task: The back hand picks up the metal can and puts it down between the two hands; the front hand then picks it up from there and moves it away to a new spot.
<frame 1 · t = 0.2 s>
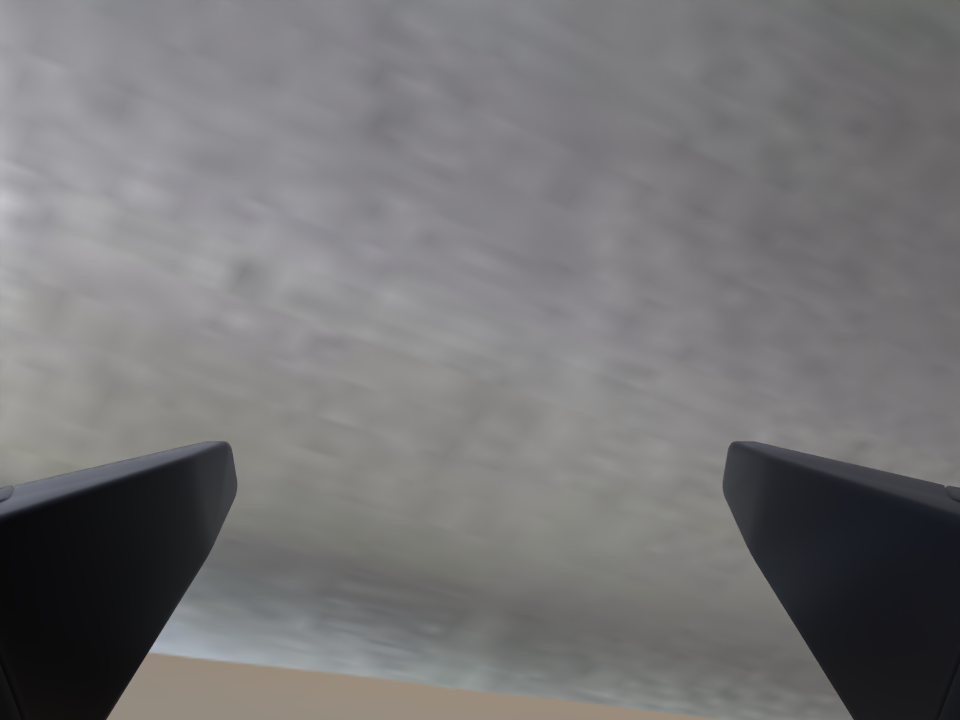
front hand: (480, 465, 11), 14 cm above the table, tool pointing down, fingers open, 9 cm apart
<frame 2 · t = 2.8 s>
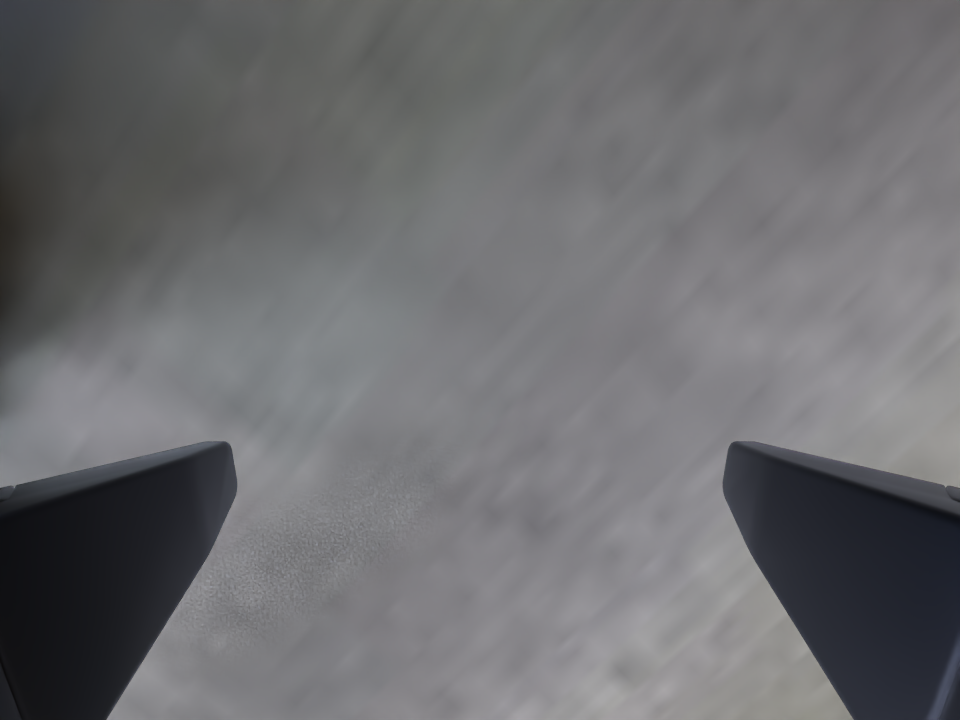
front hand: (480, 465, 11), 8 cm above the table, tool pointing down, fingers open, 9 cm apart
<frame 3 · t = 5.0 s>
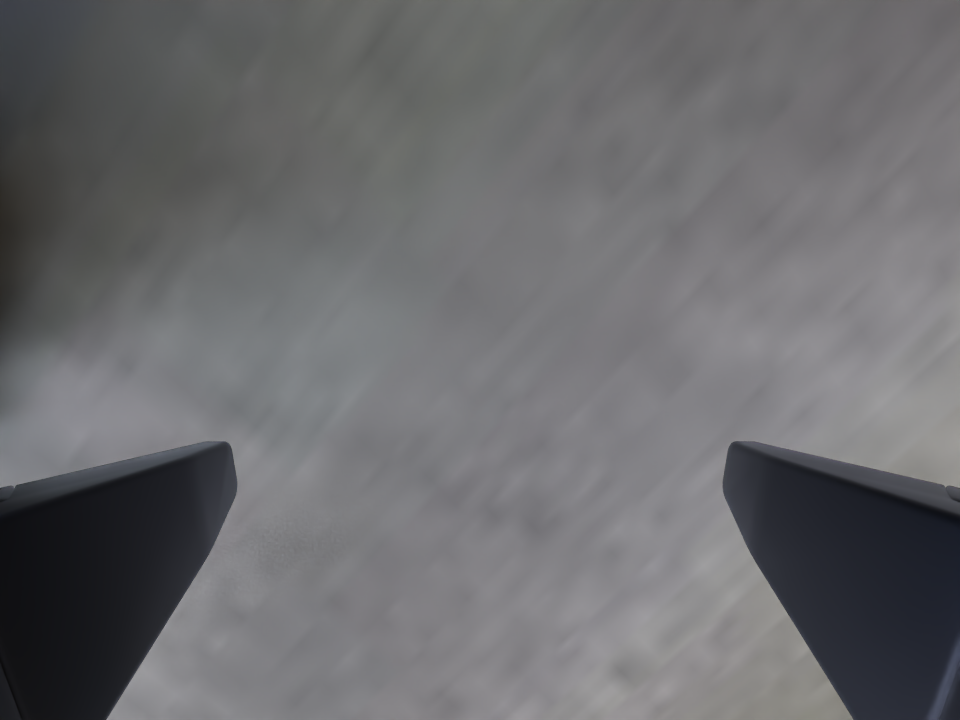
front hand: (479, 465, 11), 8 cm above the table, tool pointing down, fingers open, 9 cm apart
when the back hand's fingers open (2 cm above the table, at t = 7.1 s): can stays where it is, on the table.
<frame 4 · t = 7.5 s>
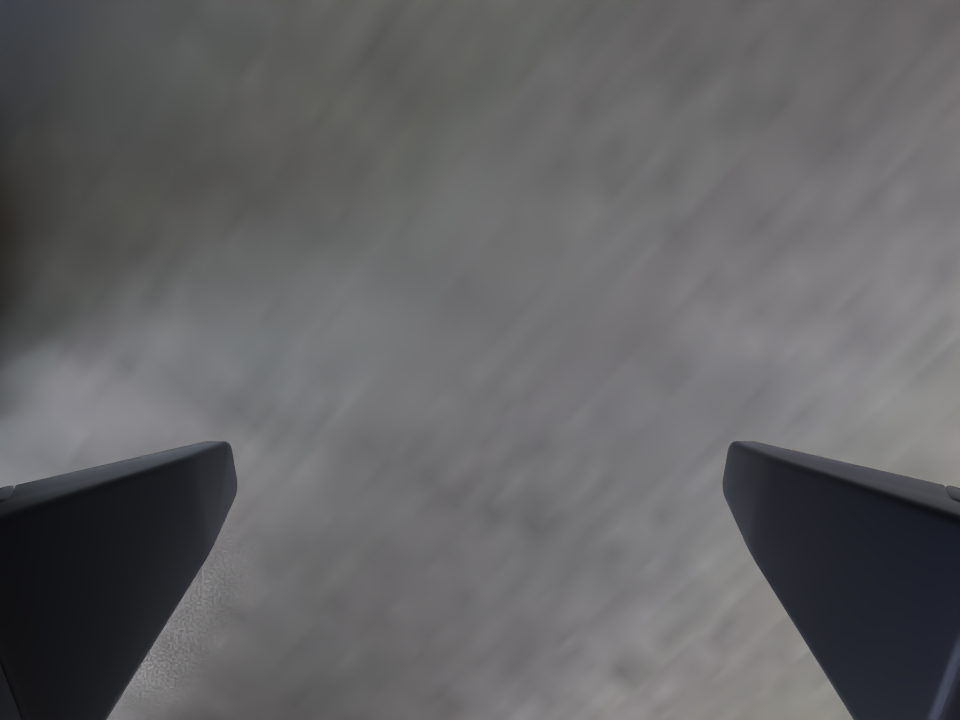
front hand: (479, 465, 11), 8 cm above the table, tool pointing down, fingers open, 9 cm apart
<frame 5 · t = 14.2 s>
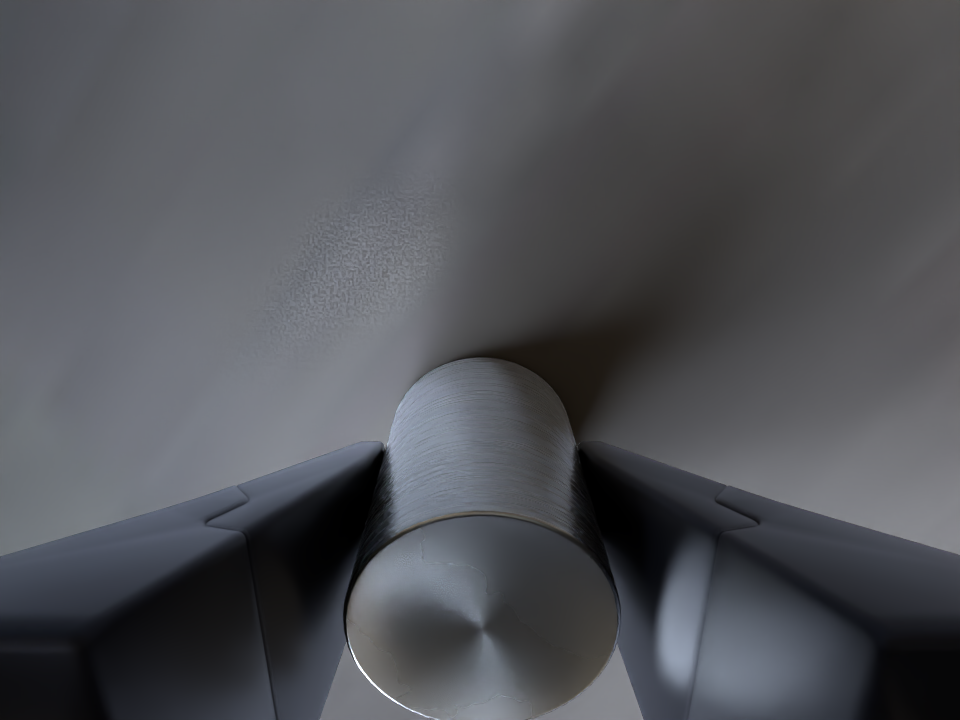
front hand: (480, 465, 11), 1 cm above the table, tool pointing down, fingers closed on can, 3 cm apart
can: (481, 438, 12), on the table, touching front hand
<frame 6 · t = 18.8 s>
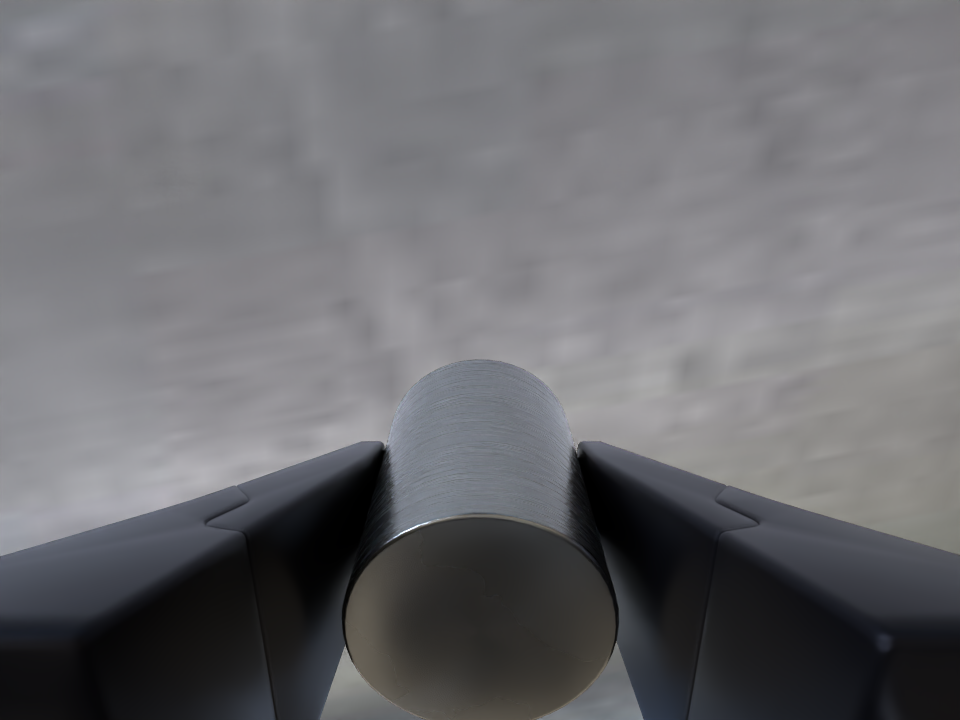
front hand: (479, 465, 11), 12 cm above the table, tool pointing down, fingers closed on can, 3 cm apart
can: (480, 440, 12), point 11 cm above the table, touching front hand
when the front hand's fingers open (2 cm above the table, at t = 23.7 s): can stays where it is, on the table.
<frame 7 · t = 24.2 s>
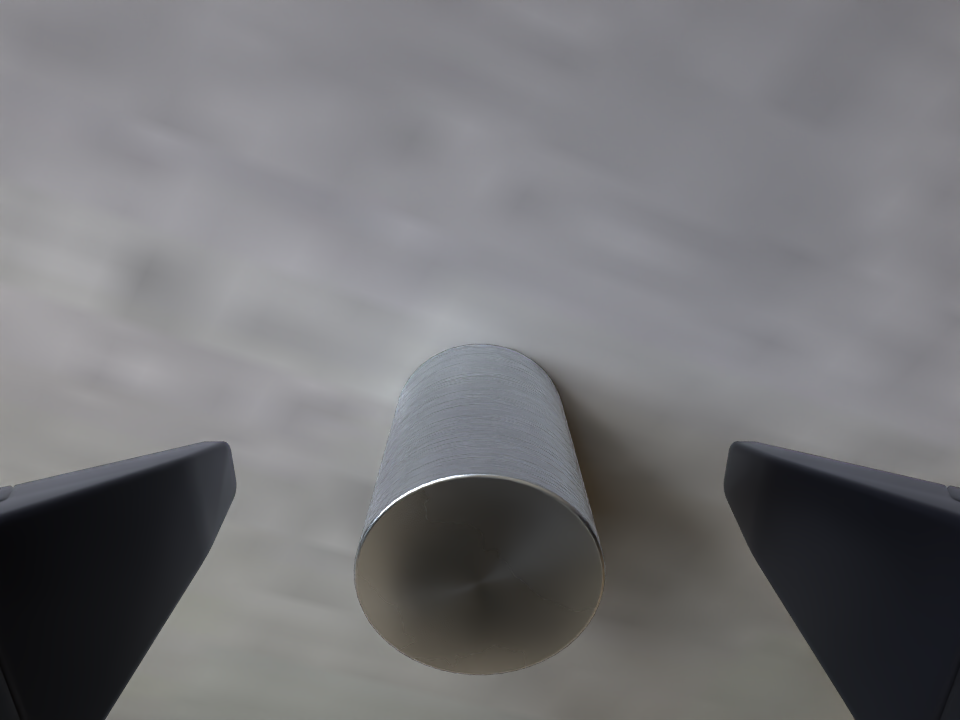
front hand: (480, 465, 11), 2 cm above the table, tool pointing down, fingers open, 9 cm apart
can: (479, 421, 13), on the table
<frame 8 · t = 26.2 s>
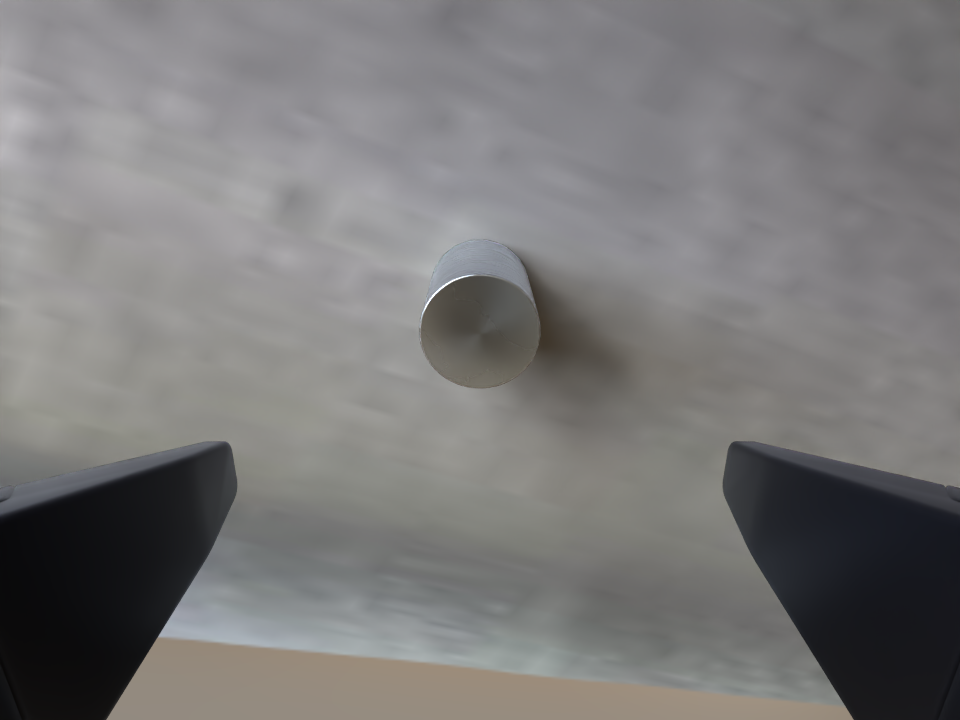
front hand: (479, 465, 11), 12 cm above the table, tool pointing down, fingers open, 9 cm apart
can: (479, 287, 23), on the table
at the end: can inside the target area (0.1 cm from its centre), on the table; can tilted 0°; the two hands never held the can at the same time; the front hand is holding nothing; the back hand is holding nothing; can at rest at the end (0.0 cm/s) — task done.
